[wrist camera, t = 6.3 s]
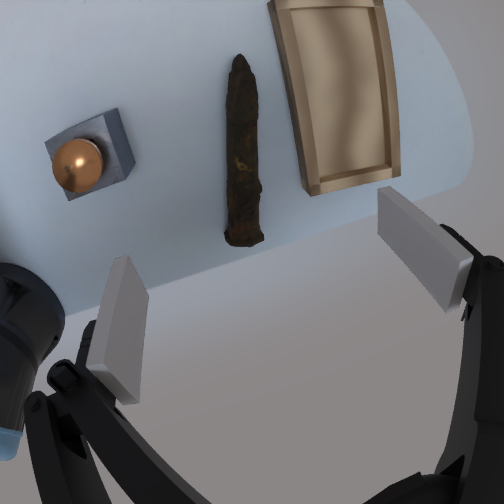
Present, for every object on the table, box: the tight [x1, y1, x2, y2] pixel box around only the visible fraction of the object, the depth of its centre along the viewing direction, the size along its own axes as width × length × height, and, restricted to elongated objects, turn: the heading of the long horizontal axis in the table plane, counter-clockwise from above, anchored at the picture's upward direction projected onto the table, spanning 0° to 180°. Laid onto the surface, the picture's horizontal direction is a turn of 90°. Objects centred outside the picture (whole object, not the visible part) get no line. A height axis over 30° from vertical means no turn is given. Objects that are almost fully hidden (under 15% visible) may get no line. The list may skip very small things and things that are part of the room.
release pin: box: [52, 138, 103, 193], centre depth 24 cm, size 4×4×7 cm
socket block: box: [45, 108, 135, 201], centre depth 25 cm, size 6×6×5 cm
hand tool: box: [224, 54, 264, 247], centre depth 28 cm, size 19×4×5 cm, turn 178°
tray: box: [267, 0, 401, 197], centre depth 27 cm, size 11×20×3 cm, turn 12°
